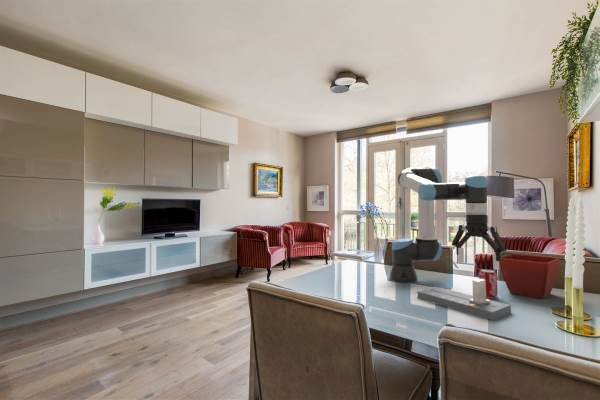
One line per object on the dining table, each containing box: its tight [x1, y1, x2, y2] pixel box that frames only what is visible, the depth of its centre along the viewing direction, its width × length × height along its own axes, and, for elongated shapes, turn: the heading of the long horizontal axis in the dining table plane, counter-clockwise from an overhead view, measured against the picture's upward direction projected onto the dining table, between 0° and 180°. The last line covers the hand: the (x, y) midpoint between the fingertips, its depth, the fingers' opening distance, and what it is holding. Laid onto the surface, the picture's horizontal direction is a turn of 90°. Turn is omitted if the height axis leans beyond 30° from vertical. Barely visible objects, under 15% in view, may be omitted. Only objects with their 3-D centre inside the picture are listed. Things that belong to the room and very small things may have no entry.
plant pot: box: [499, 253, 560, 299], centre depth 137 cm, size 19×19×17 cm
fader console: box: [417, 286, 512, 321], centre depth 123 cm, size 14×32×3 cm, turn 31°
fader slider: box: [469, 278, 491, 306], centre depth 116 cm, size 6×5×9 cm
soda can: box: [478, 268, 498, 299], centre depth 133 cm, size 7×7×12 cm
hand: (477, 266), depth 117 cm, fingers open, 13 cm apart
